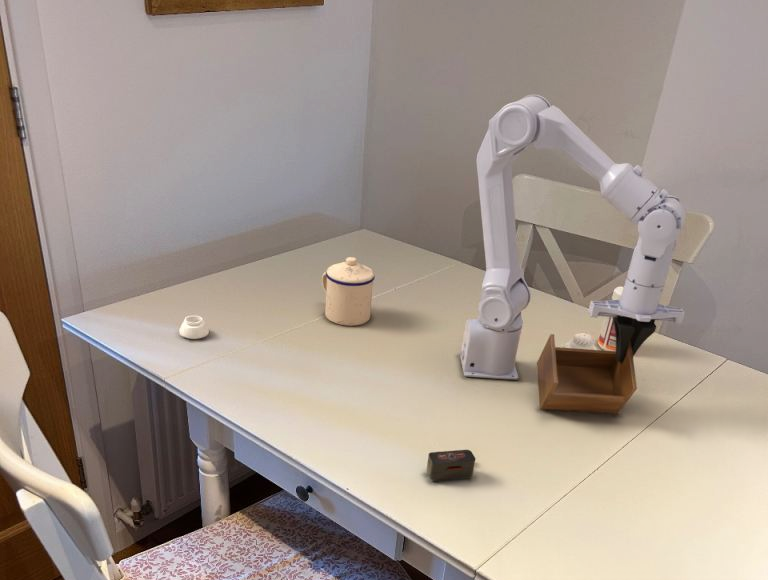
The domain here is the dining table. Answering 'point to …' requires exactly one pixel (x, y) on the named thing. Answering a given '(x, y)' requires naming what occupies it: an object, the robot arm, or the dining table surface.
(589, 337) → the white swirled dome
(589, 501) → the dining table surface
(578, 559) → the dining table surface
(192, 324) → the white jar
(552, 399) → the wooden crate
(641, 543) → the dining table surface
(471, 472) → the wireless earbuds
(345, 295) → the teacup with lid
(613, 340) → the pill bottle
